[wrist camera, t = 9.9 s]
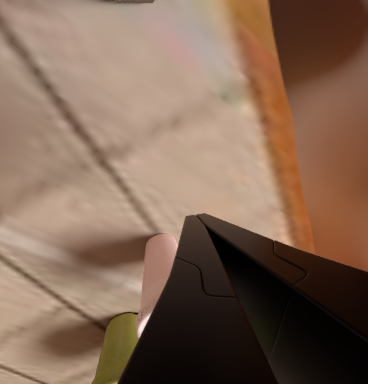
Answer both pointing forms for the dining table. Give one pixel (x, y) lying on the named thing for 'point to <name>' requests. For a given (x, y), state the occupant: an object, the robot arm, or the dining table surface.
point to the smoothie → (155, 274)
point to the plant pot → (116, 348)
